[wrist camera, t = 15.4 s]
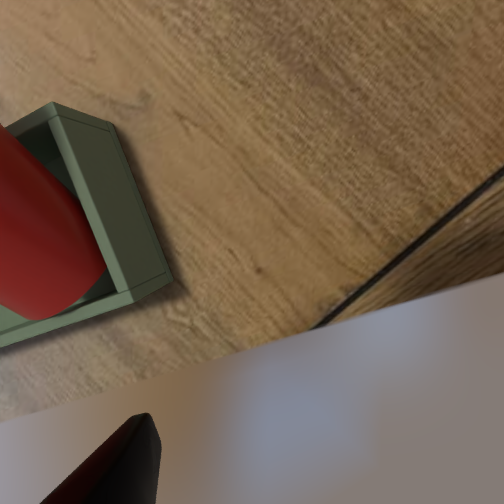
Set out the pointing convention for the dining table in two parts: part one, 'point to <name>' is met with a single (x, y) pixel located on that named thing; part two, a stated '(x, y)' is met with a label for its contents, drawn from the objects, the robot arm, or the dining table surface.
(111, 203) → the bin
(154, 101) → the dining table surface
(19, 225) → the can
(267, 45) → the dining table surface
